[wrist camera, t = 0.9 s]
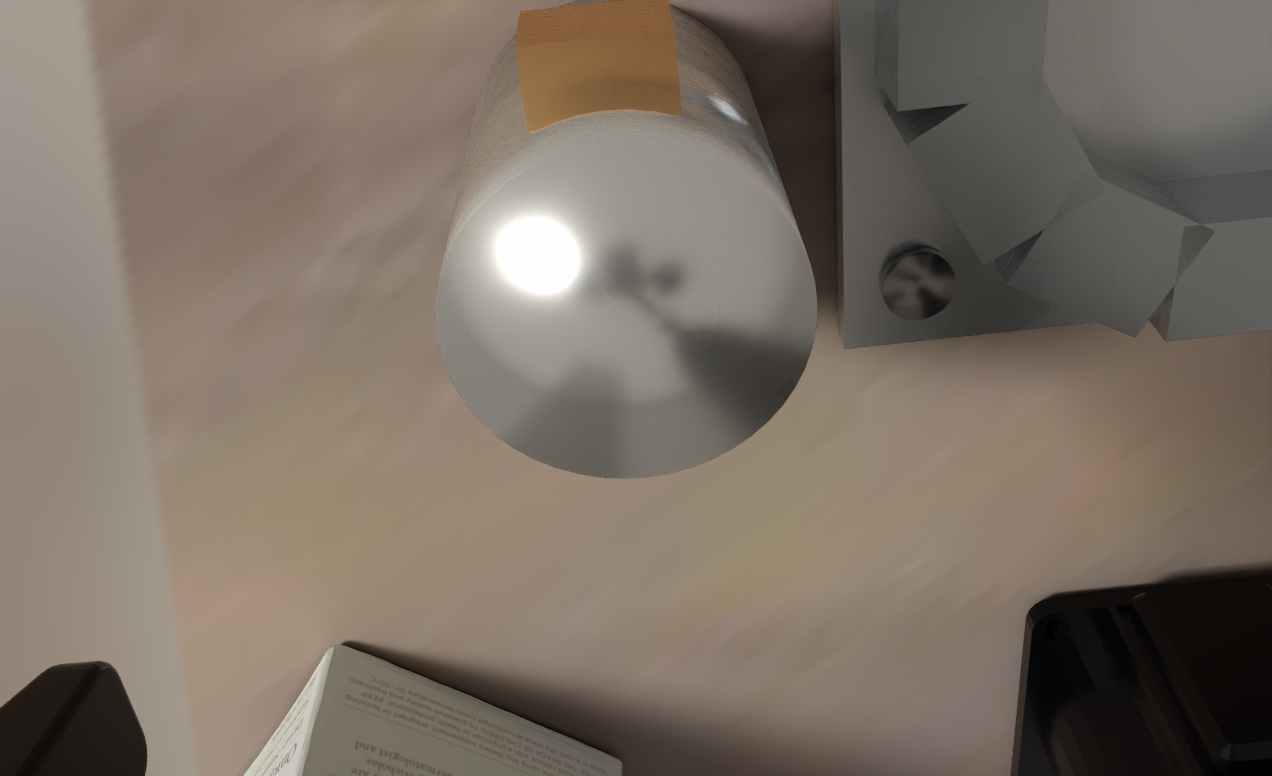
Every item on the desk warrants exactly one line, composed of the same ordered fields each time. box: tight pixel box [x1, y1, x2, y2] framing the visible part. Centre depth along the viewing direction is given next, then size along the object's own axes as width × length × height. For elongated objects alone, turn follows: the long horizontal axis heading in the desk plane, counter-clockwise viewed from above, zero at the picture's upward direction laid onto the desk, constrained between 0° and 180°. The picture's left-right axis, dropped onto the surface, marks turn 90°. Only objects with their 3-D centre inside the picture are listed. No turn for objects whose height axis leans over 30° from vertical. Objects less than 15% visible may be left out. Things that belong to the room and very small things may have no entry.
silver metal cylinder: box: [435, 0, 818, 478], centre depth 17 cm, size 5×4×6 cm
